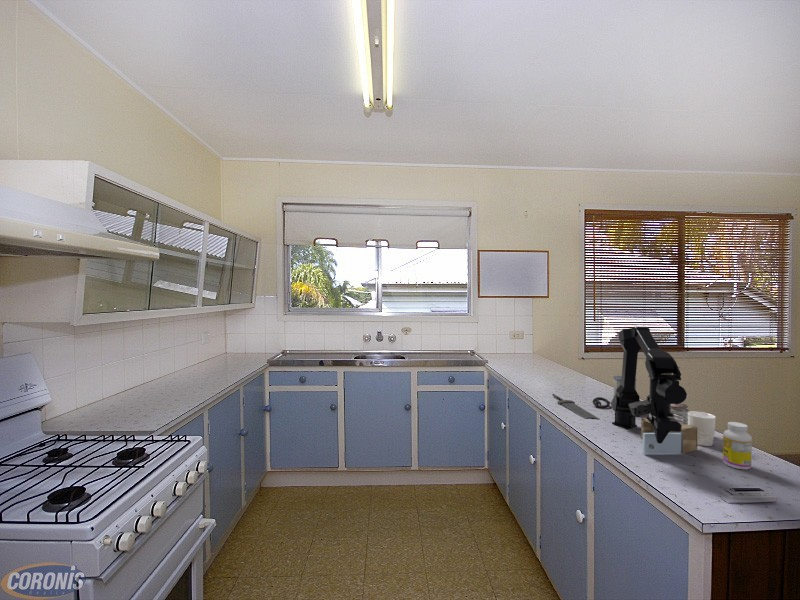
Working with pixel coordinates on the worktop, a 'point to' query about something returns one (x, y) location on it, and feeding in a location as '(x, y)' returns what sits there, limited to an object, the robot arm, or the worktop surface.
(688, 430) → the cabinet
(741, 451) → the supplement bottle
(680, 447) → the door
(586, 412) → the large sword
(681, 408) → the french press
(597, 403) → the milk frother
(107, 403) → the worktop surface
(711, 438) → the white cup
